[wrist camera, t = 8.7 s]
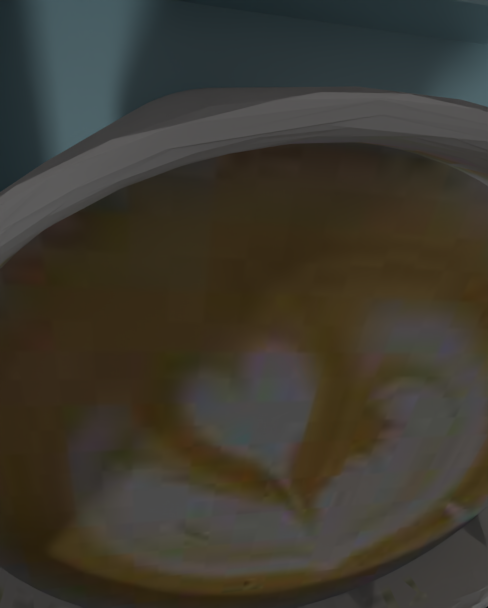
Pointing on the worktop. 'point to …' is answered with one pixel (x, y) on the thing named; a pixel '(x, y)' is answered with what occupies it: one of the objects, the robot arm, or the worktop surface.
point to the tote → (216, 57)
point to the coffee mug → (249, 357)
